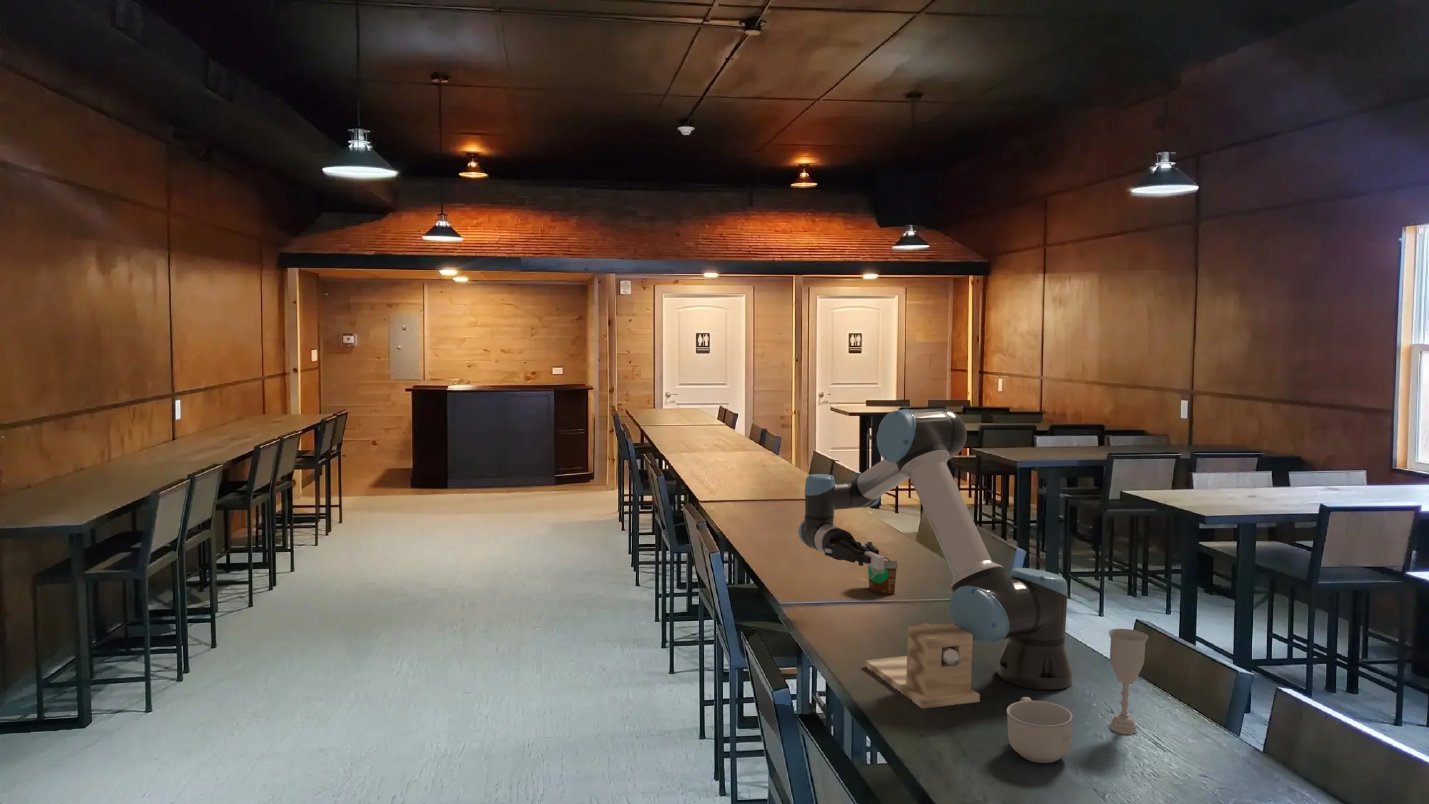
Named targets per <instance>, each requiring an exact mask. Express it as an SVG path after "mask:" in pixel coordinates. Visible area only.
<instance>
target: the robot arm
mask: <svg viewBox="0 0 1429 804" xmlns="http://www.w3.org/2000/svg"><path fill="white" fill-rule="evenodd" d="M967 436H968V435H967V428H966V424H965V423H964V421H963V419H962V418H961V417H960V416H959V415H958V414H957V413H956V412H954V411H952V410H949V409H947V408H942V407H940V408H939V407H936V408H920V409H914V408H913V409H909V408H903V409H898V410H897V409H896V410H891V411H890V412H888V413H887V414H886V415H885V416H883V418H882V419H881V422H880V423H879V425H878V431H877V433H876V446H877V449H878V453H879V455H880V456H881V457H882V458H883V459H881V460H880V461H879V462H877V463H875V464H874V465H873V466H871V467H870V468H868V469H866V470H865V471H864V472H862V473H861V474H860V475H858V476H856V477H855V478H852V479H846V480H835V477H834V475H831V474H826V473H825V474H824V473H814V474H813V473H812V474H809V475H807V476H806V478H805V483H804V484H805V485H804V486H805V487H804V507H805V509H804V510H805V511H804V518H803V519H804V520H802V522H801V523H800V525H799V527H798V531H797V533H798V537H799V539H800V541H801V542H802V543H803V544H804V545H806V546H807V547H809V548H810V549H813V550H815V551H818V552H819V553H822V554H824V556H827V557H828V558H832V559H833V560H836V561H846V562H849V563H852V564H853V563H856V562H857V563H858V566H859V567H862V566H864V564H866V565H867V566H868V565H869V566H871V567H874V568H876V569H878V570H879V569H884V557H885V556H882V555H880V550H879V549H878V548H877V547H876V546H874V545H873V542H872V541H868V542H865V543H864V544H862V542H861V541H857V540H855V538H854V536H853V534H851V532H850V531H847V530H845V529H842V528H841V527H838V526H835V525H834V518H835V511H838V510H848V509H849V510H850V509H860V508H863V509H865V508H870V507H873V506H876V505H877V504H878V503H880V499H882V496H883V495H884V494H886V493H888V492H889V491H891V490H893V489H895V488H896V487H898V486H899V485H901V484H902V483H904V482H906V481H908V480H909V479H910V481H911V484H912V486H913V488H914V490H915V493H916V495H917V497H918V499H919V501H920V503H921V505H922V508H923V510H924V512H925V515H926V518H927V519H928V521H929V524H930V525H931V526H930V527H931V529H932V531H933V533H934V534H935V535H934V536H935V537H936V539H937V542H938V543H939V546H940V548H941V551H942V553H943V556H944V557H945V560H946V562H947V564H948V566H949V568H950V571H951V573H952V575H953V580H952V581H951V582H952V583H951V585H950V589H951V591H952V595H951V596H950V598H949V604H950V606H949V614H950V617H951V621H952V624H954V625H956V626H958V627H960V628H961V629H963V630H965V631H967V632H969V633H971V634H973V642H975V643H979V644H980V643H981V644H983V643H997V642H1000V641H1003V640H1006V639H1007V640H1006V642H1005V644H1004V647H1003V649H1002V652H1001V654H1000V657H999V660H998V663H997V675H998V677H1000V678H1001V679H1002V680H1003V681H1005V682H1007V683H1009V684H1013V685H1015V686H1019V687H1022V688H1026V689H1033V690H1043V691H1055V690H1063V689H1067V688H1068V687H1070V686H1071V685H1072V684H1073V670H1072V667H1071V663H1070V660H1069V659H1070V658H1069V655H1068V653H1067V648H1066V630H1067V629H1066V626H1067V612H1068V611H1067V607H1068V597H1069V594H1068V582H1067V580H1066V579H1065V577H1063V576H1061V575H1059V574H1056V573H1053V572H1049V571H1045V570H1039V569H1036V568H1035V569H1034V568H1029V567H1028V568H1027V567H1013V568H1011V570H1010V572H1009V577H1008V574H1007V573H1006V571H1005V568H1004V566H1003V565H1001V564H999V563H996V562H994V561H993V559H992V558H991V556H990V554H989V552H988V549H987V547H986V545H985V543H984V541H983V539H982V536H981V534H980V533H979V530H978V528H977V526H976V523H975V522H974V519H973V517H972V515H971V513H970V511H969V508H968V507H967V505H966V503H965V500H964V498H963V497H962V494H961V491H960V490H959V486H958V485H957V484H956V481H955V479H954V477H953V475H952V473H951V470H950V469H949V466H948V465H947V463H948V461H949V460H951V459H952V458H954V457H955V456H957V455H958V454H959V453H960V452H961V451H962V450H963V449H964V447H965V445H966V443H967V442H966V441H967Z"/></svg>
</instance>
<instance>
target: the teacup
mask: <svg viewBox="0 0 1429 804" xmlns="http://www.w3.org/2000/svg"><path fill="white" fill-rule="evenodd" d="M1006 715H1007V716H1006V718H1007V719H1006V720H1007V721H1006V722H1007V736H1008V741H1009V744H1010V746H1011V747H1012V749H1013V750H1014V751H1015V752H1016V753H1018V754H1019V755H1020V756H1021V758H1023V759H1025V760H1028V761H1030V762H1033V763H1039V764H1051V763H1054V762H1057V761H1059V760H1060V759H1061V758H1063V757H1065V756H1066V755H1067V754H1068V752H1069V751H1070V749H1071V745H1072V737H1073V736H1072V734H1073V733H1072V732H1073V728H1072V727H1073V725H1072V724H1073V714H1072V712H1071V711H1070V710H1069V709H1067V708H1066V707H1064V706H1063V705H1060V704H1057V703H1054V702H1050V701H1043V700H1032V699H1031V697H1029V696H1023V697H1021V698H1020V701H1017V702H1016V701H1015V702H1013V703H1011V704H1009V705H1008V706H1007V708H1006Z"/></svg>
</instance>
